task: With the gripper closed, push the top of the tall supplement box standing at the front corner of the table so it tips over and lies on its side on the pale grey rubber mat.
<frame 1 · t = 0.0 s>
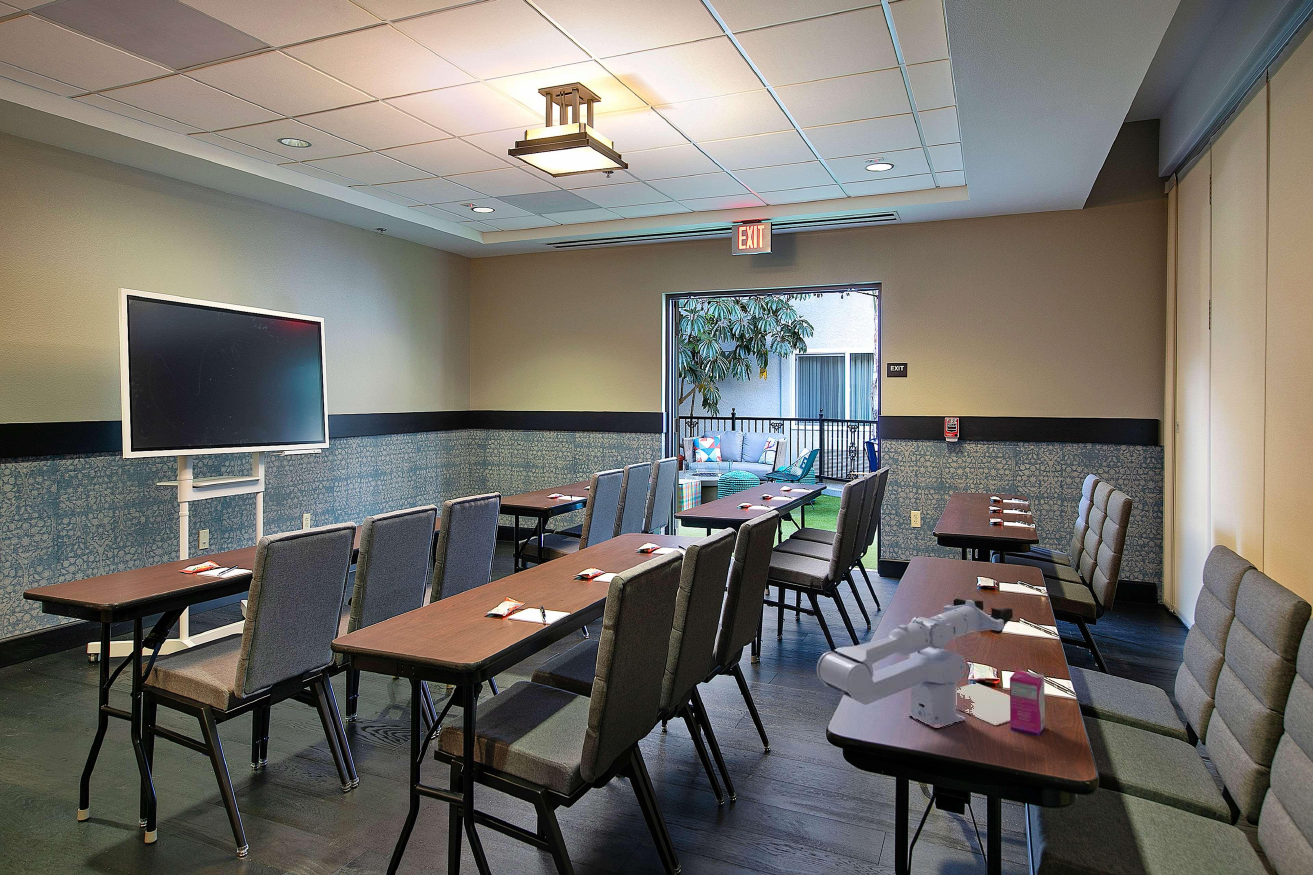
hand: (996, 608, 174), 22 cm above the table, tool horizontal, fingers open, 7 cm apart
supplement box: (1027, 729, 160), on the table
grey mat: (985, 703, 173), on the table
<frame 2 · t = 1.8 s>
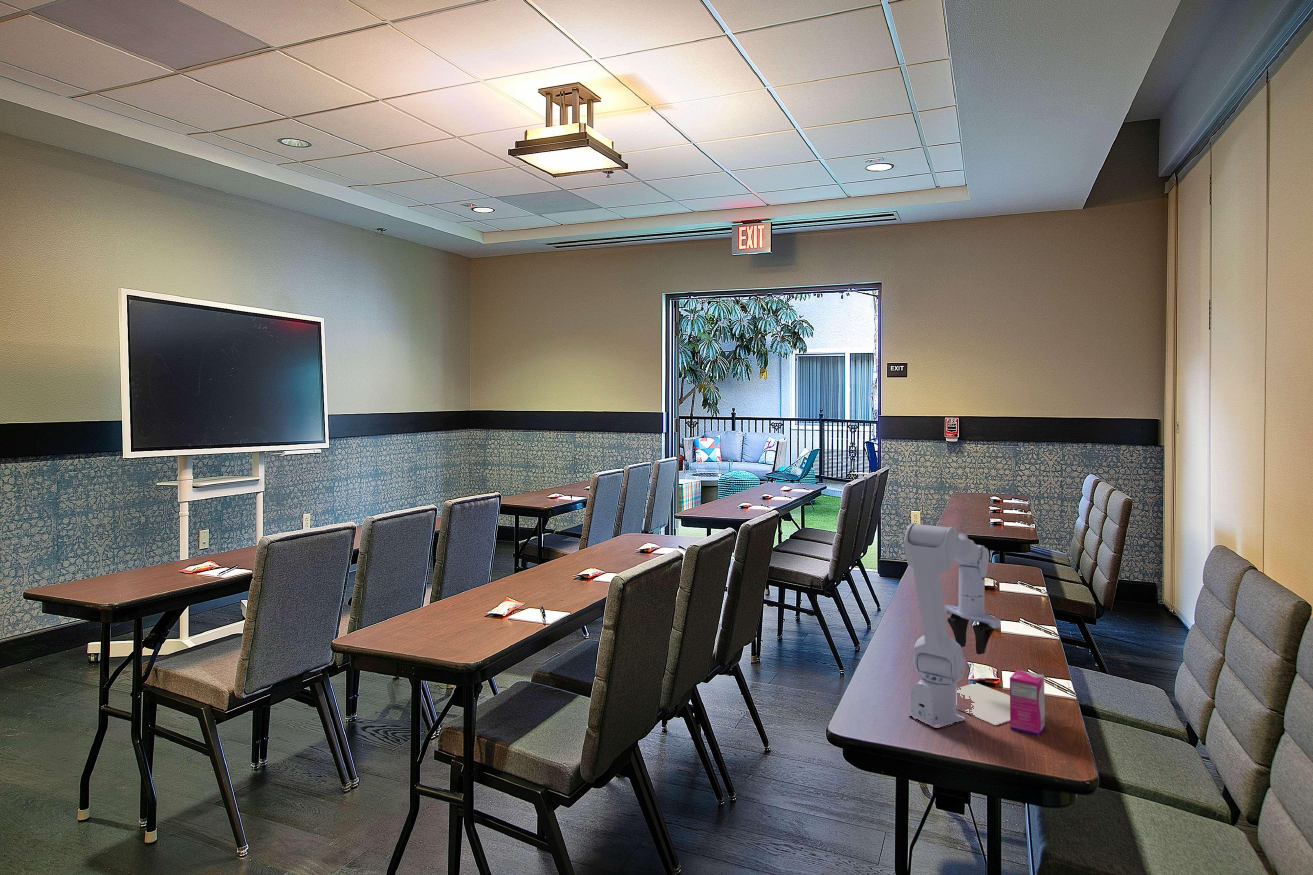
hand: (970, 650, 179), 10 cm above the table, tool pointing down, fingers open, 5 cm apart
nothing on the table moved.
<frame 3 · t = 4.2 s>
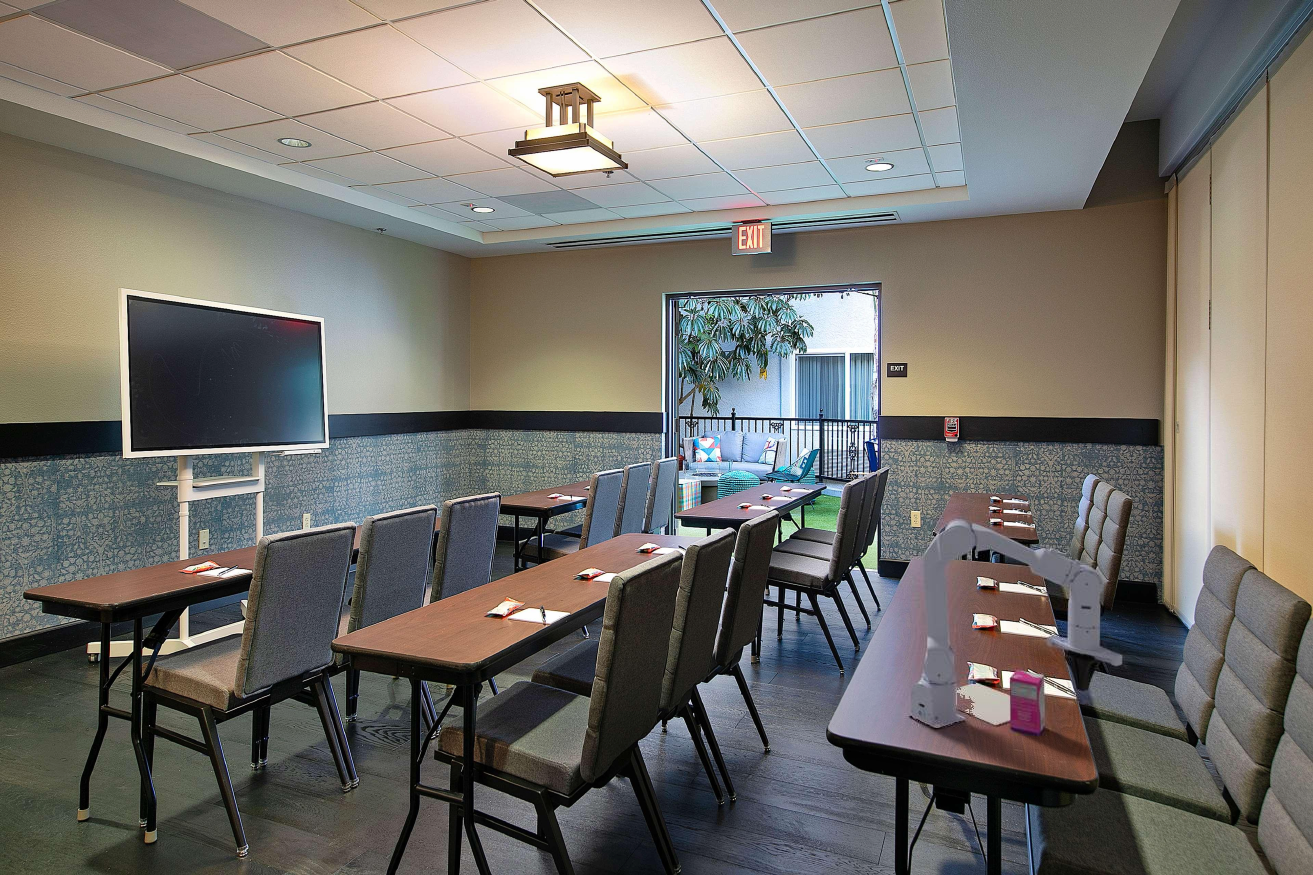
hand: (1082, 689, 154), 10 cm above the table, tool pointing down, fingers closed
nothing on the table moved.
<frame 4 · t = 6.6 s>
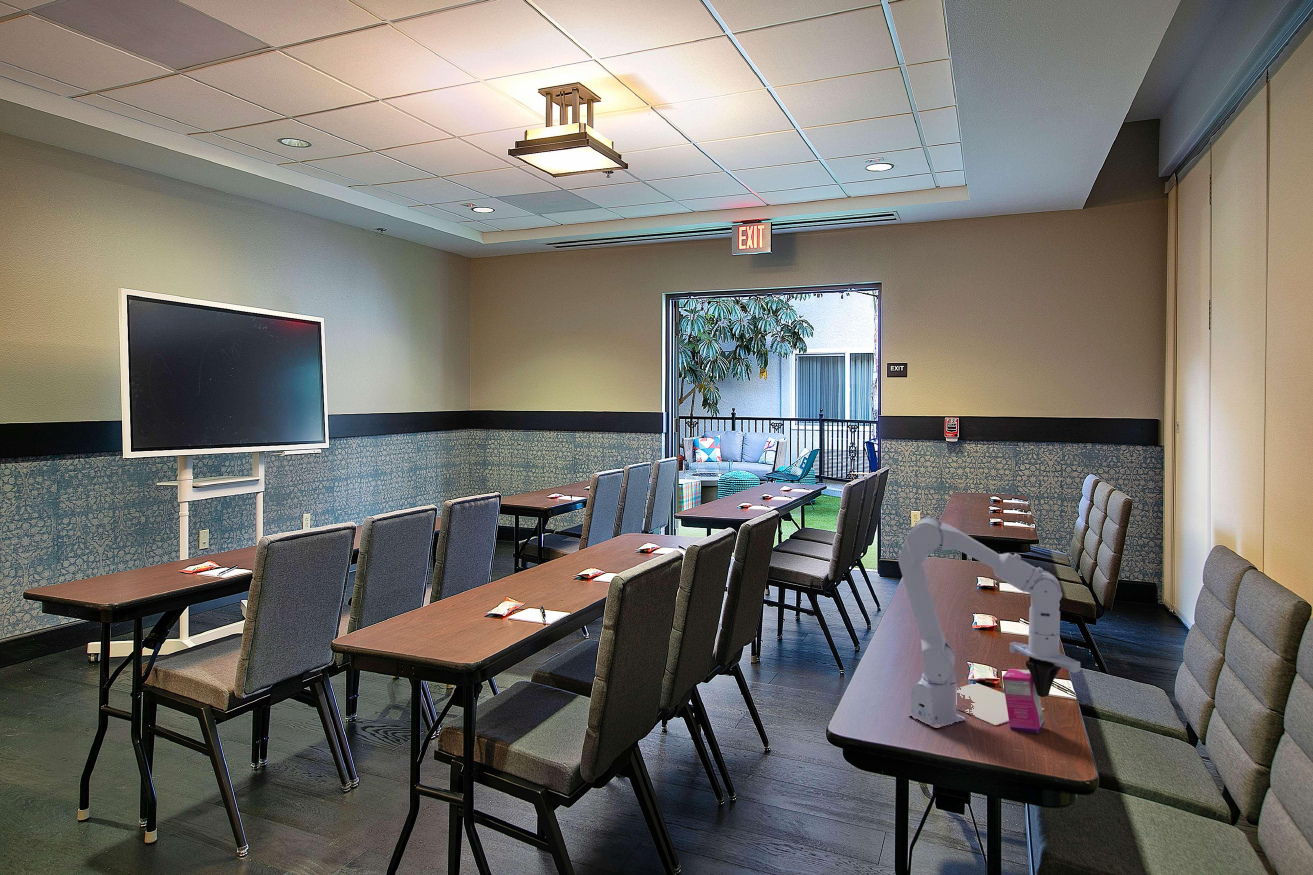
hand: (1042, 695, 157), 8 cm above the table, tool pointing down, fingers closed
supplement box: (1027, 727, 160), on the table, touching gripper
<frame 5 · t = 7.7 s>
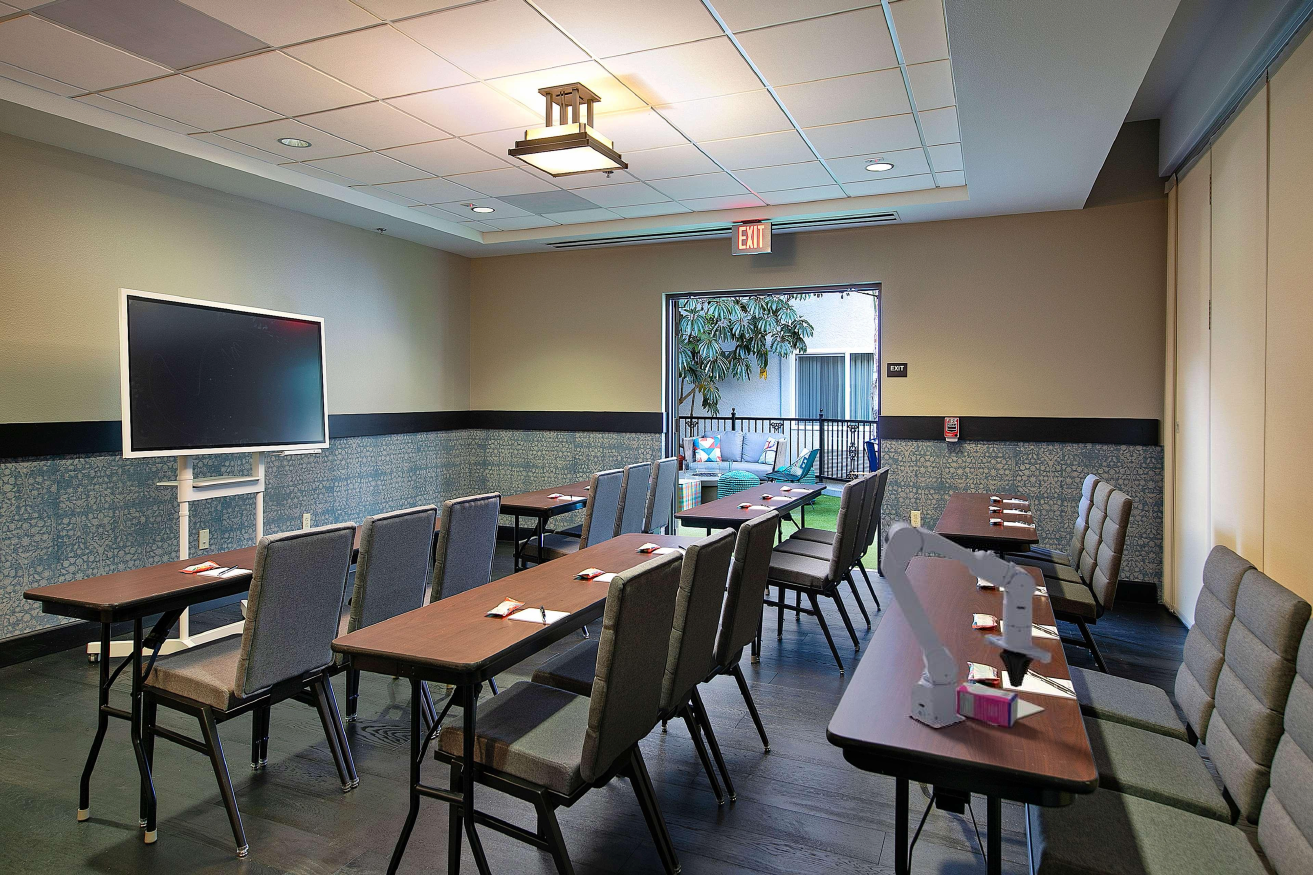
hand: (1016, 685, 162), 8 cm above the table, tool pointing down, fingers closed
supplement box: (1015, 711, 161), point 3 cm above the table, touching grey mat
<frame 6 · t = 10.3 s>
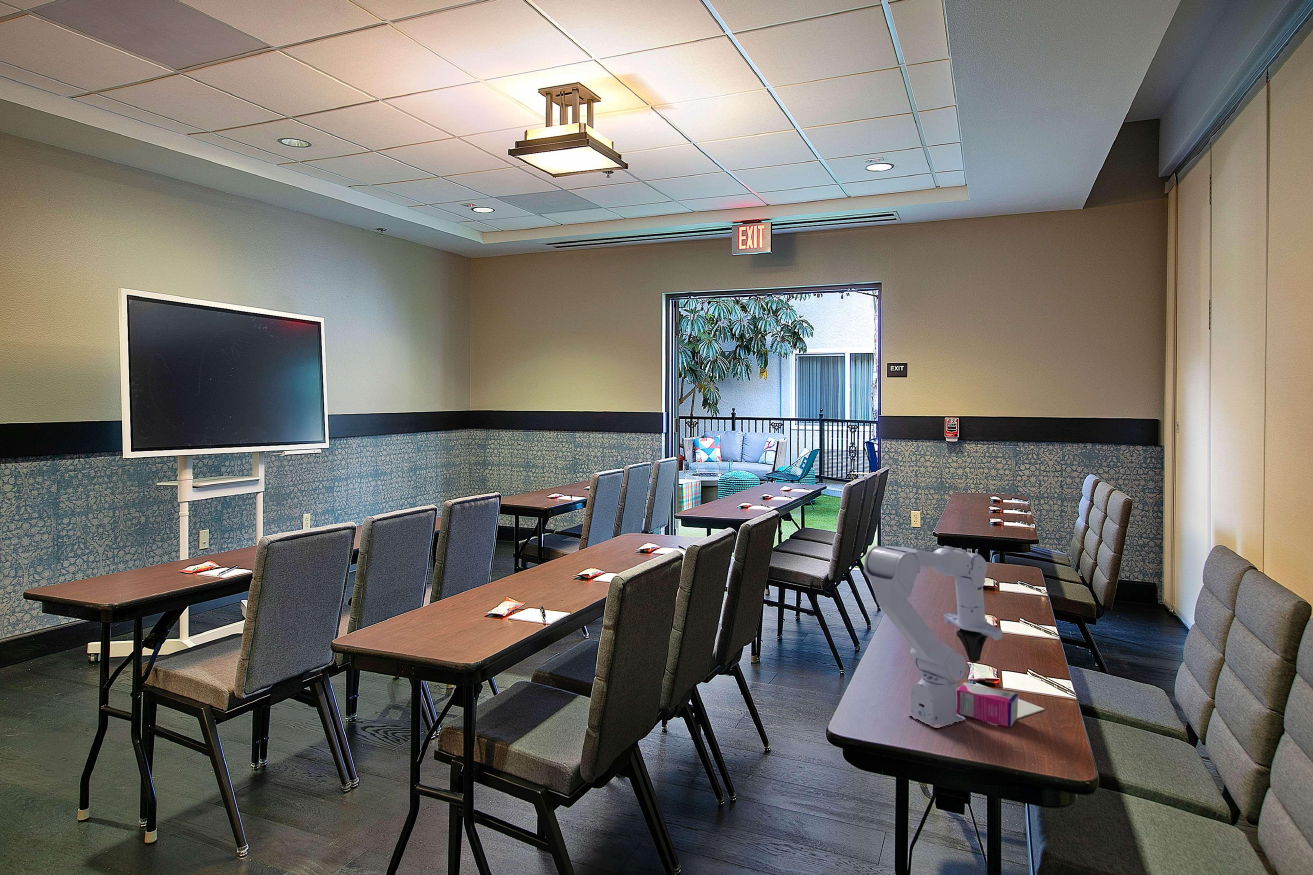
hand: (974, 660, 171), 11 cm above the table, tool pointing down, fingers closed
nothing on the table moved.
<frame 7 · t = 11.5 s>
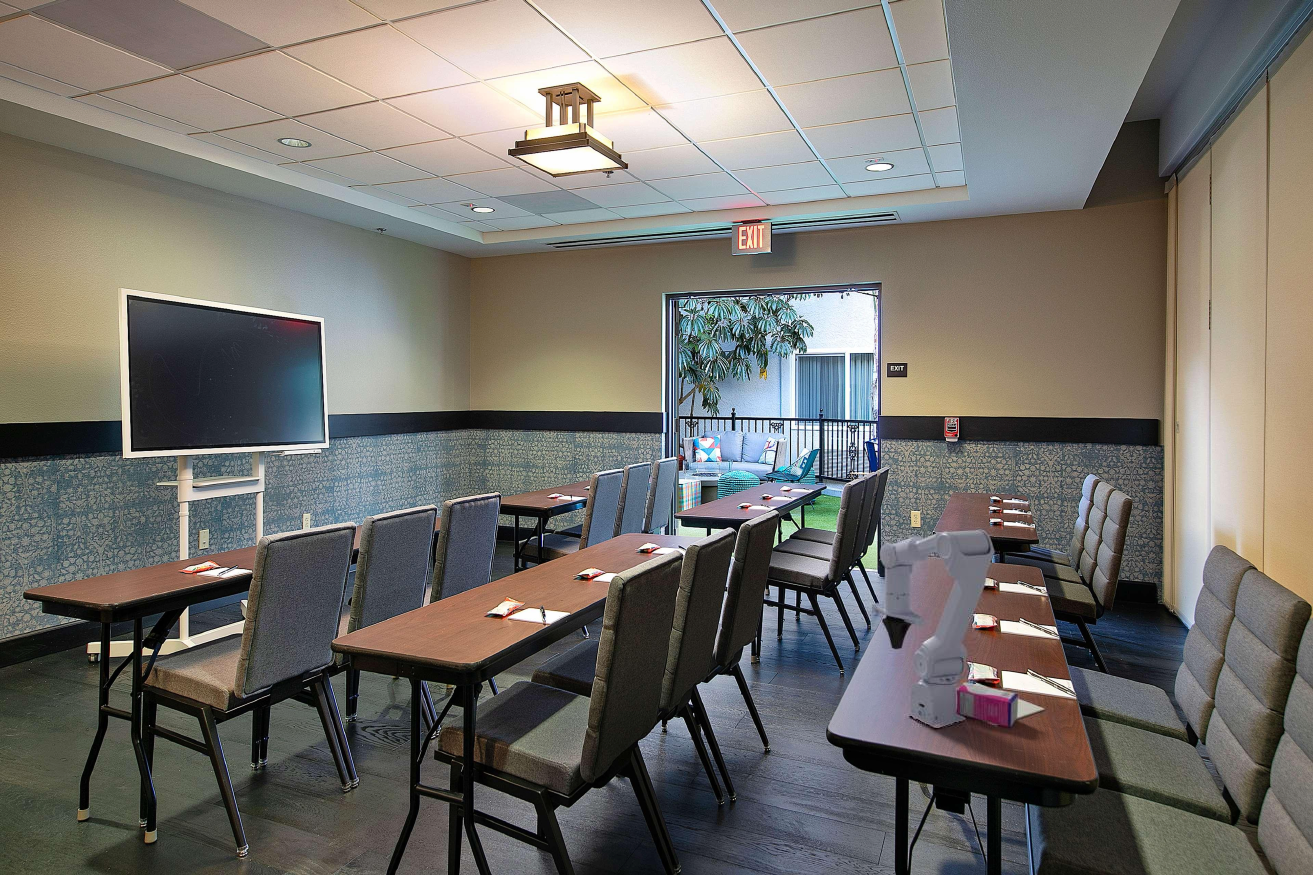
hand: (896, 647, 181), 10 cm above the table, tool pointing down, fingers closed
nothing on the table moved.
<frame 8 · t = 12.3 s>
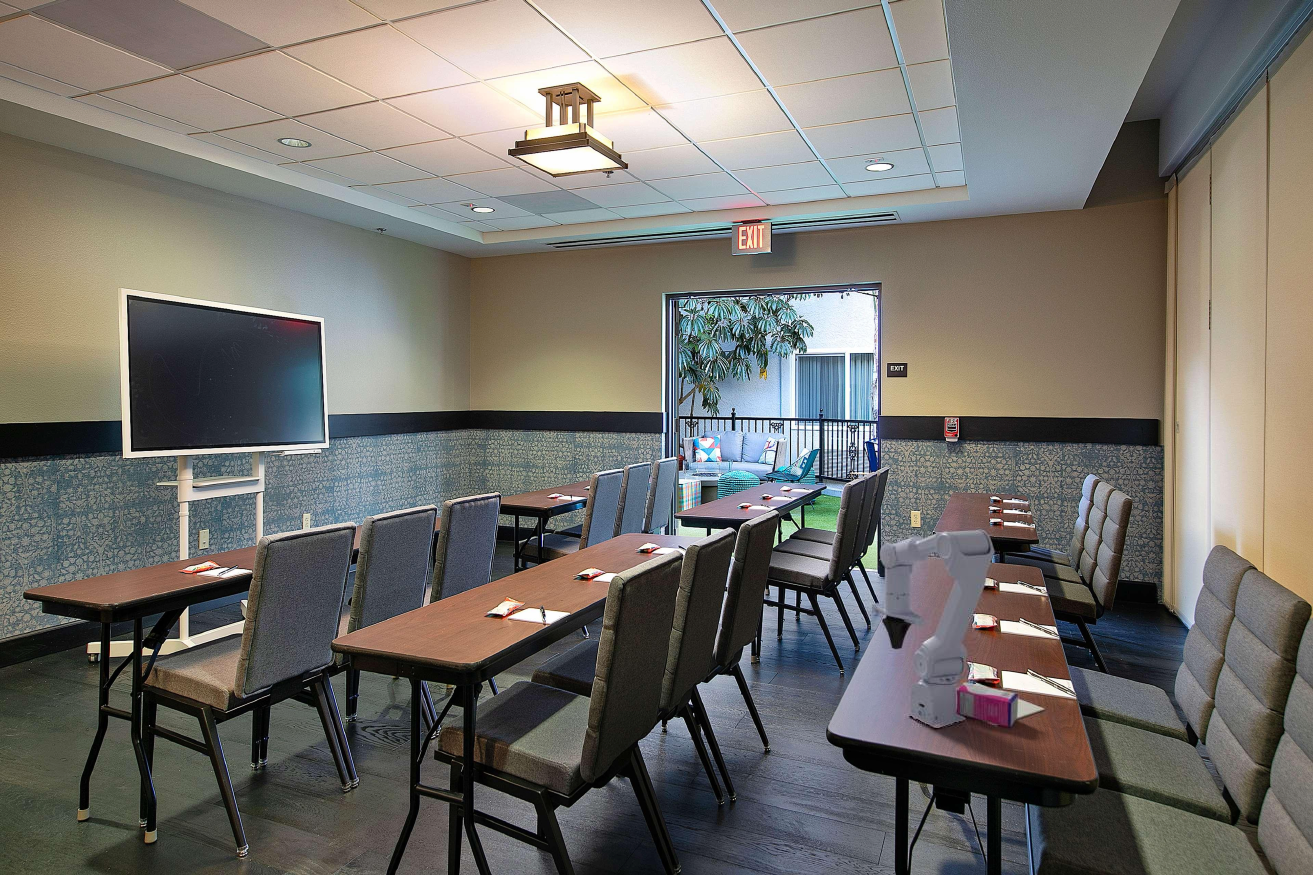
hand: (896, 647, 181), 10 cm above the table, tool pointing down, fingers closed
nothing on the table moved.
at the end: supplement box tilted 89°; supplement box inside the target area (5.4 cm from its centre), point 3.1 cm above the table; the gripper is holding nothing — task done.
